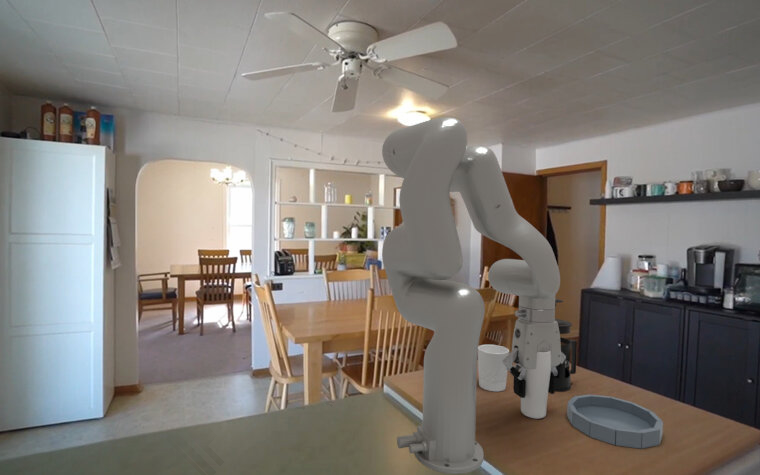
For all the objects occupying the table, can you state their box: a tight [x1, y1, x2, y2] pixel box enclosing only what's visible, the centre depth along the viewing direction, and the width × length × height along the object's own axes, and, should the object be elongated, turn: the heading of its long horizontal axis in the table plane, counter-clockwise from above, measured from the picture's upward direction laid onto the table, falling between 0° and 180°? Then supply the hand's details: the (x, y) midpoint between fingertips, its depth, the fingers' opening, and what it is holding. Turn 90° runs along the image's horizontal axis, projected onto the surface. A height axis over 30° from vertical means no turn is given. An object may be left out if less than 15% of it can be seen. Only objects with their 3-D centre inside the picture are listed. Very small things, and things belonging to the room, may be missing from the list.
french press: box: [554, 298, 578, 392], centre depth 107 cm, size 12×9×23 cm
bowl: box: [566, 394, 664, 449], centre depth 85 cm, size 17×17×3 cm
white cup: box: [477, 344, 510, 392], centre depth 105 cm, size 8×8×10 cm
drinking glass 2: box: [519, 351, 551, 420], centre depth 89 cm, size 7×7×15 cm
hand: (533, 392), depth 89 cm, fingers open, 7 cm apart
